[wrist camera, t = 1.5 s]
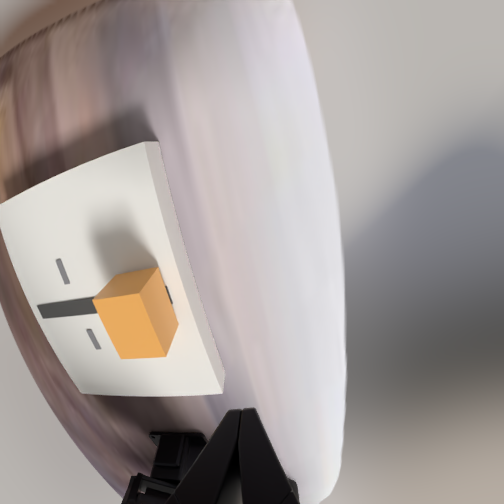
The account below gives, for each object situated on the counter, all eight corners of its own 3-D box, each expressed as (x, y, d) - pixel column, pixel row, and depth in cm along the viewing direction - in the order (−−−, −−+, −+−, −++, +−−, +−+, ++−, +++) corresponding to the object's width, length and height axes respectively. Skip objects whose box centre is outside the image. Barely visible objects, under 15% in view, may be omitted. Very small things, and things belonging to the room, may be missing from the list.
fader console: (225, 371, 23) (222, 394, 20) (91, 376, 24) (80, 393, 21) (158, 141, 16) (143, 141, 14) (14, 200, 18) (-7, 207, 15)
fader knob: (179, 324, 18) (166, 356, 15) (138, 328, 18) (121, 359, 15) (158, 266, 16) (139, 293, 13) (115, 274, 16) (92, 300, 13)
